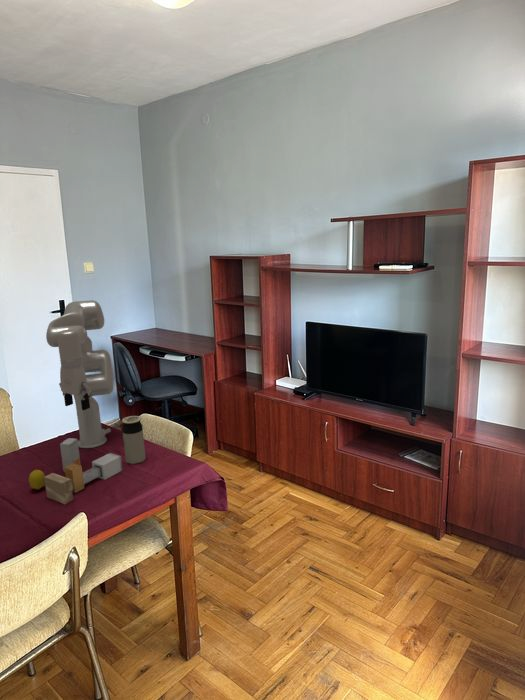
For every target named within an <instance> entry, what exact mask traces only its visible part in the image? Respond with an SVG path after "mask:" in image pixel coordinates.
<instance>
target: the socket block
mask: <svg viewBox="0 0 525 700" xmlns="http://www.w3.org/2000/svg"><path fill="white" fill-rule="evenodd" d="M44 480H45V484H44V486H45V492H46V497H47V498H48V499H50V500H53V501H55V502H58V503H61V504H63V505H66V504H68V503H70V502H72V501H74V495H73V494H74V493H73V492H72V487H71V480H70V479H68V478H66V476H62V475H60V474H57V473H55V472H51V473H49V474H48V475H45V477H44Z"/></svg>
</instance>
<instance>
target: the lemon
mask: <svg viewBox="0 0 525 700" xmlns="http://www.w3.org/2000/svg"><path fill="white" fill-rule="evenodd" d="M45 476H46V475H45V473H44V472H43V471H42V470H40V469H34V470H32V472H30V473H29V476H28V484H29V486H30V487H31V488H32V489H34V490H40V489H41V488H43V487H44V486H45V480H44V477H45Z"/></svg>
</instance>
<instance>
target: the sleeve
mask: <svg viewBox="0 0 525 700" xmlns="http://www.w3.org/2000/svg"><path fill="white" fill-rule="evenodd" d="M91 466H92V467H91V468H93V467H95V466H100V467H101V468H102V475H101V476H99V477H97V479H101V480H104V481H106V480H107V479H109V478H111V477H112V476H114V475H116V474H119V473H120V472H122V471H123V470H124V469H123V468H124V467H123V461H122V456H121V455H119V454H115V453H112V452H109V453H106V454H105V455H103V456H101V457H98V458H97V459H94V460H93V461H91Z"/></svg>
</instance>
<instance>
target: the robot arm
mask: <svg viewBox="0 0 525 700" xmlns="http://www.w3.org/2000/svg"><path fill="white" fill-rule="evenodd" d="M104 316H105V315H104V313H103V309H102V306H101V305H100V303H99V302H98V301H97V300H91V299H90V300H79V301H77V300H76V301H71V302H69V303H68V304H67V305H66V306H65V308H64V313H63V315H61V316H59V317H57V318H55V319H53V320H52V321H50V322H49V324H48V326H47V329H46V332H45V334H46V335H45V337H46V338H45V339H46V343H47V345H49V346H50V347H52V348H58V355H59V359H60V360H59V361H60V370H59V373H60V374H59V378H60V380H59V381H60V382H59V383H58V385H59V388H60V391H61V393H62V396H63V398H64V406H65V407H68V406H72V405H73V404H75V409H76V417H77V418H76V419H77V424H78V425H77V426H78V432H79V439H78V448H80V449H93V448H98V447H101V446H102V445H104V444H105V443H106V442H107V439H108V438H107V436H106V435H107V434H109V433H111V432H112V430H111V428H109V427H108V428H106V429H105V428H103V427H102V421H101V420H102V419H101V413H100V405H99V403H98V401H97V400H96V399H95V398H94V397H96V396H105V395H109V394H112V392H113V391H114V382H113V381H114V380H113V379H114V378H113V368H112V359H111V355H110V353H109V351H107V350H105V349H97V350H93V342H92V339H91V338H90V337H89V336H88V332H87V331H93V330H100V329H103V327H104V326H105V317H104ZM97 372H98V373H97ZM99 372H100V373H99ZM87 373H91V374H87Z"/></svg>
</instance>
